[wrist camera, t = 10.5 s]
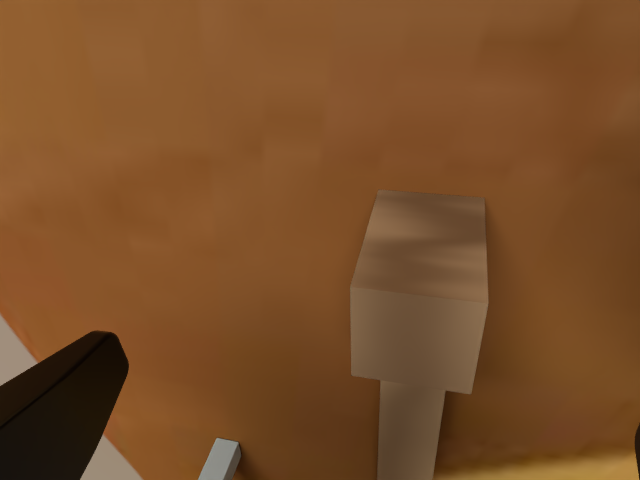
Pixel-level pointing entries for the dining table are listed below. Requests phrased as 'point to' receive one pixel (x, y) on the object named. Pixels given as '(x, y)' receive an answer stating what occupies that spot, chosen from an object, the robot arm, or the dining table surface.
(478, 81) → the dining table surface
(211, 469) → the grey bridge
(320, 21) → the dining table surface
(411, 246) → the wooden mallet
